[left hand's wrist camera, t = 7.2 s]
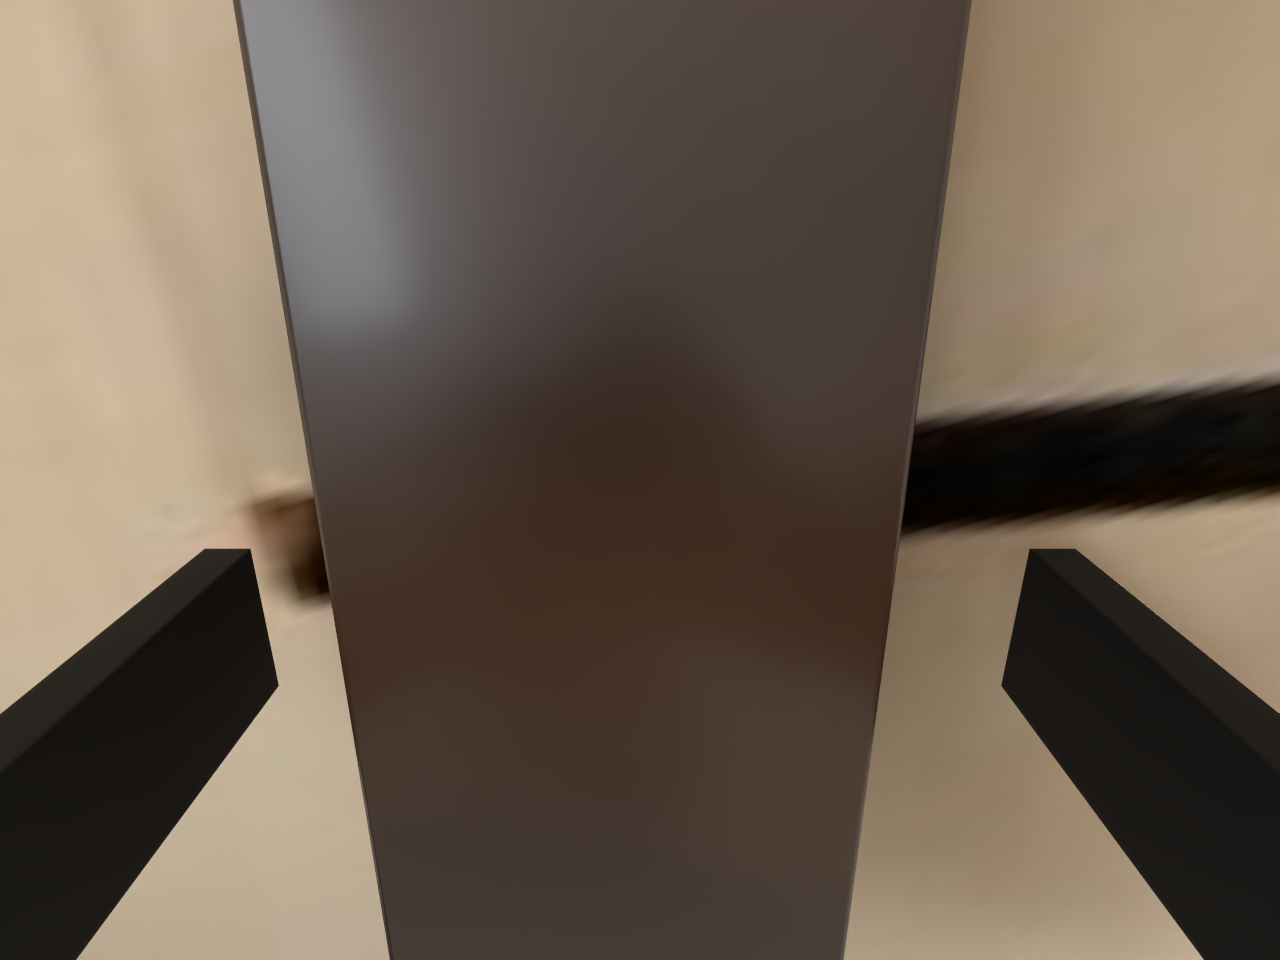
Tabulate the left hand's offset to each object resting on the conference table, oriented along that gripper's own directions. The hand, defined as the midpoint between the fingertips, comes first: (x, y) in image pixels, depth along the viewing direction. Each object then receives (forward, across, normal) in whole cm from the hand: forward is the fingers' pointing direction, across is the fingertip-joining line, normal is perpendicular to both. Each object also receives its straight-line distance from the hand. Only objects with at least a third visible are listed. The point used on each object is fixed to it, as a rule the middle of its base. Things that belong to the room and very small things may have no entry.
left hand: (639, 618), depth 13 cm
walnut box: (+3, 0, -11) cm, 11 cm away
